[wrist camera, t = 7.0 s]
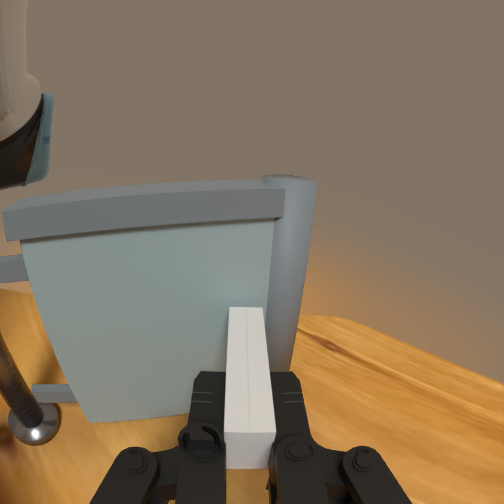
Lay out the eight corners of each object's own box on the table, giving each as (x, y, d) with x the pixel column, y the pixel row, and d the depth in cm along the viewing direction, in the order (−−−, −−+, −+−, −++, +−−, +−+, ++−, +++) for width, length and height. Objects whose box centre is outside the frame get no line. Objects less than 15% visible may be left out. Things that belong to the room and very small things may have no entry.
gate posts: (11, 446, 11) (-107, 188, 4) (16, 377, 16) (-49, 164, 10) (260, 398, 18) (284, 133, 12) (221, 340, 24) (224, 128, 17)
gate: (49, 433, 13) (-46, 216, 7) (52, 405, 15) (-21, 201, 9) (291, 401, 18) (329, 185, 12) (277, 377, 20) (302, 174, 14)
